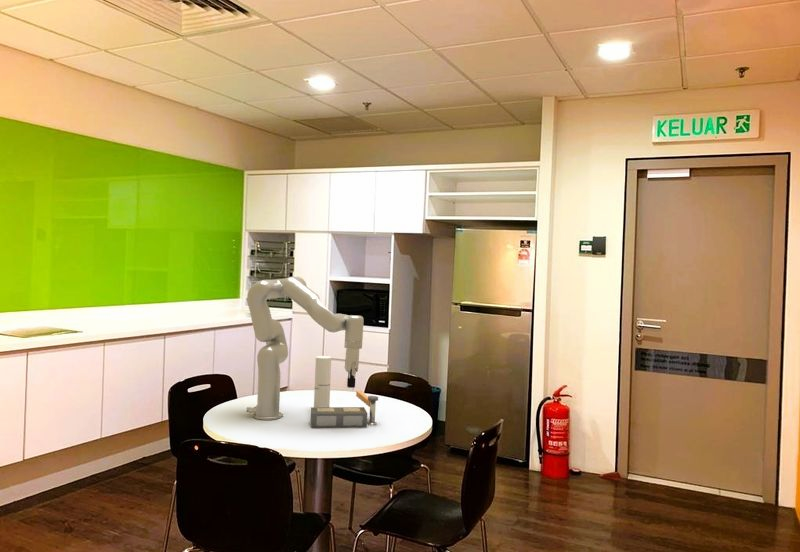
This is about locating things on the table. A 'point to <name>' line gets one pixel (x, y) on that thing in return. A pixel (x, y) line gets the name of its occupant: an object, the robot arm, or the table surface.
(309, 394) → the table surface
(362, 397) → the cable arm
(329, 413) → the block
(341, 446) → the table surface
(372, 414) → the post
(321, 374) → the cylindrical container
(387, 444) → the table surface
